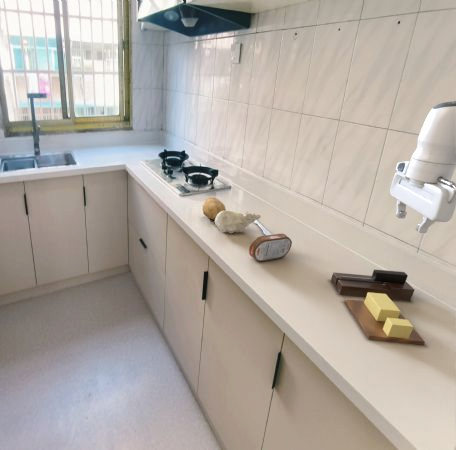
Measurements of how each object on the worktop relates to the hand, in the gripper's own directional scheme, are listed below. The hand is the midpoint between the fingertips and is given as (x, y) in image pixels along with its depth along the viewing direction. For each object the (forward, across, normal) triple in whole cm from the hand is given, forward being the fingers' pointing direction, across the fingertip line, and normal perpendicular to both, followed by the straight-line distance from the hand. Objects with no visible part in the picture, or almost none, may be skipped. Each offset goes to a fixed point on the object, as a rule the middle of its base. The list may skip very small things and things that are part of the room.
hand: (409, 224), depth 87 cm
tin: (+21, +14, +30) cm, 39 cm away
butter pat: (+20, -19, +7) cm, 29 cm away
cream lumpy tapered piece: (+21, +35, +38) cm, 56 cm away
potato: (+21, +45, +46) cm, 68 cm away
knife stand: (+21, 0, +4) cm, 21 cm away
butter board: (+21, -14, +8) cm, 26 cm away
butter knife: (+21, +43, +28) cm, 56 cm away
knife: (+20, 0, +5) cm, 21 cm away
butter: (+20, -12, +7) cm, 24 cm away
